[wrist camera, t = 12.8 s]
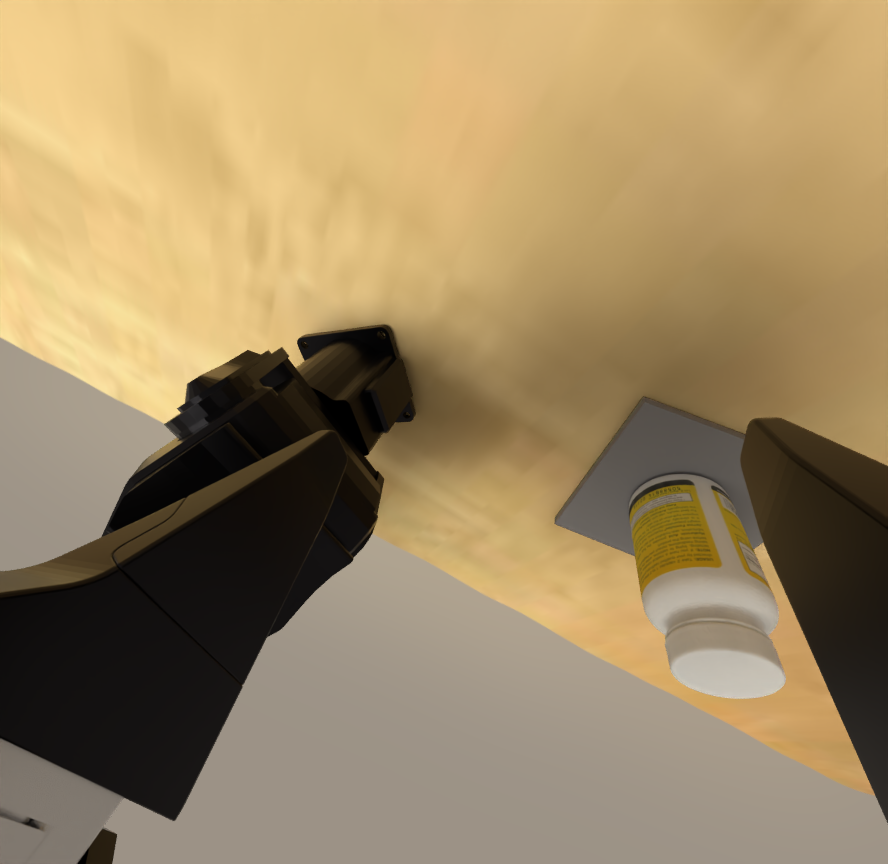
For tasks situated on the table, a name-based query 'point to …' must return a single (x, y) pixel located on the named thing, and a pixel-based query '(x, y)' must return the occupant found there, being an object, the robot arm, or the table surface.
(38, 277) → the table surface
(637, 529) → the supplement bottle
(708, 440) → the mat
